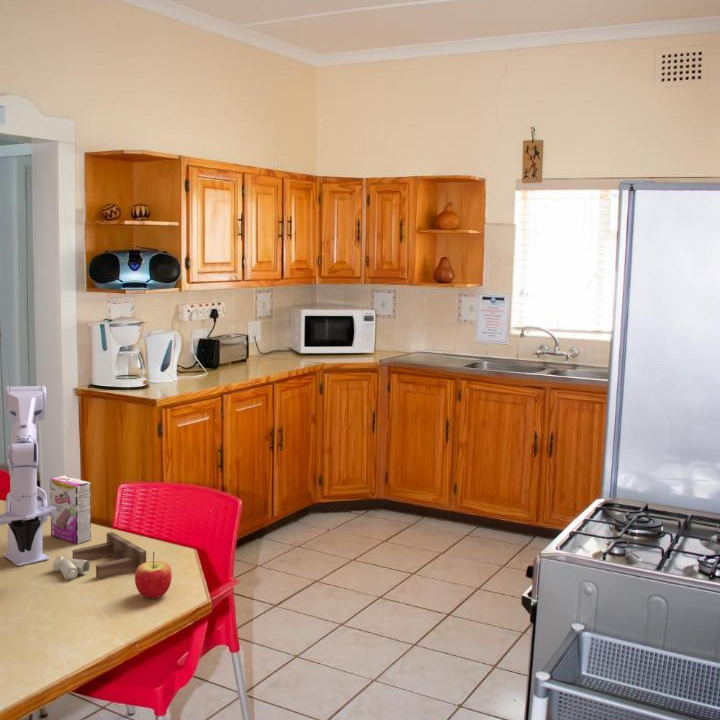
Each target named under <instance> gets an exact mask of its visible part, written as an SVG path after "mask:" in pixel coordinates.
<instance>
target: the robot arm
mask: <svg viewBox="0 0 720 720" xmlns="http://www.w3.org/2000/svg"><path fill="white" fill-rule="evenodd" d="M4 409H5V413H6V417H7V420H9V421H11V422H13V423H14V424H13V425H12V427H11V430H10V445H8V446H7V467H8V474H9V477H10V478H9V479H10V480H9V485H10V488H9V490H10V491H9V492H8V493H7V494H6V499H5V512H4V513H1V514H0V526H3V525H8V526H9V527H8V529H7V536H6V537H7V538H6V539H7V553H3V557H5V558H7V559H8V560H9V561H11V562H12V563H13V564H14V565H16V566H17V567H21V566H25V565H29V564H34V563H39V562H42V561H43V562H44V561H47V560H48V561H49V559H50V557H49V556H47V555H46V554H44V553H43V551H44V550H43V549H44V548H43V540H44V539H43V523H46V522H47V521H48V518H49V517H51V516H56V507H54V506H51V505H48V495H47V494H48V493H46V491H45V490H44V489H43V488H41V487H39V486H38V483H37V481H38V479H37V478H38V475H37V474H38V473H37V471H38V470H37V469H38V468H37V467H38V465H39V445H38V444H39V443H38V439H37V438H38V437H37V436H38V428H37V426H38V423H39V422H40V421H42V420H44V419H45V418H46V415H47V387H46V386H45V384H42V385H35V386H34V385H33V386H32V385H30V386H29V385H28V386H26V385H24V386H22V385H21V386H10V385H7V386H6V387H5V389H4Z"/></svg>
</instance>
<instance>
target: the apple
mask: <svg viewBox="0 0 720 720" xmlns="http://www.w3.org/2000/svg"><path fill="white" fill-rule="evenodd" d="M172 572H173V571H172V568H171V566H170V565H169V564H168V563H167V562H164V561H158V560H155V551H153V552H152V560H151V561H150V560H149V561H146V562H145V563H142V564H141V565H139V566H138V568H137V570H135V574H134V583H135V586H136V587H135V588H136V589H137V591H138V593H139V595H141V596H142V597H144V598H147V599H157V598H160V597H163V596H164V595H166V593H167V592H168V590H169V588H170V586H171V585H172V577H173V575H172V574H173V573H172Z"/></svg>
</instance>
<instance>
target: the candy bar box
mask: <svg viewBox="0 0 720 720" xmlns="http://www.w3.org/2000/svg"><path fill="white" fill-rule="evenodd" d="M49 483H50V485H49V487H50V488H49V491H50V506H54V507H56V516H50V536H51V537H54V538H57V539H59V540H63V541H65V542H69V543H73V544H75V545H81V544H84V543H86V542H89V541H91V540H92V519H91V518H92V516H91V515H92V514H91V511H92V509H91V508H92V507H91V506H92V505H91V490H92V489H91V484H92V483H91V482H89V481H87V480H82V479H79V478H75V477H71V476H68V475H65V474H64V475H61V476H56V477H51V478H50V479H49Z"/></svg>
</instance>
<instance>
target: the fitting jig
mask: <svg viewBox="0 0 720 720" xmlns="http://www.w3.org/2000/svg"><path fill="white" fill-rule="evenodd" d="M71 552H72V559H78V560H80V559H81V560H88V561H89V562H90V561H94V560H99V559H103V558H107V557H111V556H113V557H115V558H117V559H116V560H112V561H107V562H103V563H98V564H95V578H97V579H99V580H103V579H107V578H111V577H115V576H119V575H123V574H128V573H131V572H136V570H137V568H138V566H139V565H141V564H142V563H145V562H147V550H146V549H144V548H142V547H140V546H138V545H137V544H135V543H133V542H131V541H130V540H127V539H125V538H123V537H122V536H121V535H118V534H117V533H115V532H114V531H110V532H106V542H103V543H98V544H94V545H89V546H85V547H81V548H76V549H72V551H71Z"/></svg>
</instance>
